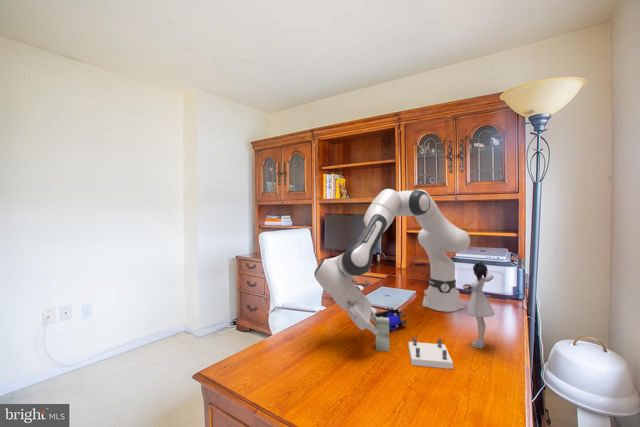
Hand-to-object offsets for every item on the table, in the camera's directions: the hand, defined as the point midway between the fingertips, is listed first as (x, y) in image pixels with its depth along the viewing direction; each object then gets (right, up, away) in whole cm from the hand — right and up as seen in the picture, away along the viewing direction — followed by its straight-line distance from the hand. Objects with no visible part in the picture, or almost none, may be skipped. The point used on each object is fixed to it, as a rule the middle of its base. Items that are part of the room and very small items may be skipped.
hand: (377, 326), depth 105 cm
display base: (+16, -7, -7) cm, 19 cm away
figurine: (+36, -7, 0) cm, 37 cm away
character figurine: (+8, -7, +15) cm, 19 cm away
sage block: (+2, -7, 0) cm, 7 cm away
